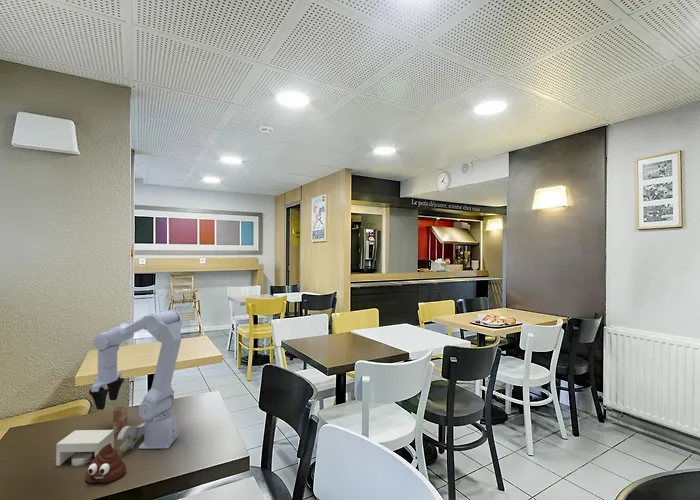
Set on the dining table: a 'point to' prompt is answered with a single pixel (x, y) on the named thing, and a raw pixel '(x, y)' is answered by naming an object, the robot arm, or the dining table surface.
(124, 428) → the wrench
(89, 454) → the steel token
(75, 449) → the white step stool
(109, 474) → the poop emoji
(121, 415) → the push blade
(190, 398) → the dining table surface
